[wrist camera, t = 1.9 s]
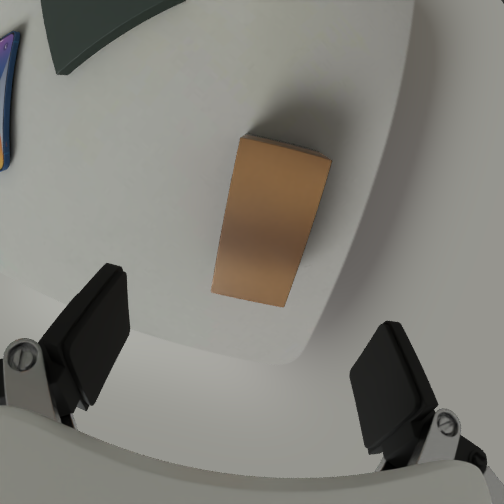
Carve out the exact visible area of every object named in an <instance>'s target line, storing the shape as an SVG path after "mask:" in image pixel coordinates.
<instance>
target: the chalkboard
mask: <svg viewBox="0 0 504 504" xmlns="http://www.w3.org/2000/svg"><path fill="white" fill-rule="evenodd" d="M184 1H186V0H41V6H42V13H43V18H44V24H45V29H46V34H47V39H48V43H49V47H50V52H51V56H52V60H53V63H54V67H55V71H56V74H57V75H68V74H69V73H71V72H72V71H73V70H74V69H75V68H77V67H78V66H79V65H80V64H82V63H83V62H84V61H85V60H87V59H88V58H89V57H91V56H92V55H93V54H95V53H96V52H97V51H99V50H100V49H101V48H103V47H104V46H106V45H107V44H109V43H110V42H112V41H113V40H115V39H116V38H118V37H119V36H121V35H122V34H124V33H125V32H127V31H129V30H130V29H132V28H134V27H135V26H137V25H139V24H140V23H142V22H144V21H146V20H147V19H149V18H151V17H153V16H155V15H157V14H159V13H161V12H163V11H165V10H167V9H169V8H171V7H173V6H175V5H177V4H179V3H181V2H184Z"/></svg>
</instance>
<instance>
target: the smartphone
mask: <svg viewBox="0 0 504 504" xmlns="http://www.w3.org/2000/svg"><path fill="white" fill-rule="evenodd" d="M19 40H20V33H19V32H16V31H12V32H10V33H9V34H7V35H5V36H4V37H2V38H1V39H0V172H1V171H3V170H6V169H7V168H8V167H9V164H10V148H9V119H10V100H11V89H12V80H13V72H14V66H15V60H16V54H17V49H18V44H19Z"/></svg>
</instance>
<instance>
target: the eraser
mask: <svg viewBox="0 0 504 504" xmlns="http://www.w3.org/2000/svg"><path fill="white" fill-rule="evenodd" d="M331 163H332V160H331V159H329V158H328V157H326V156H325V155H323V154H322V153H320V152H319V151H316V150H312V149H308V148H305V147H301V146H297V145H294V144H290V143H286V142H282V141H278V140H273V139H269V138H265V137H260V136H256V135H251V134H245V135H244V136H242V137H241V138H240V142H239V146H238V151H237V156H236V160H235V165H234V170H233V175H232V179H231V184H230V189H229V194H228V199H227V205H226V210H225V215H224V220H223V225H222V231H221V236H220V242H219V247H218V253H217V258H216V264H215V270H214V276H213V281H212V287H211V292H212V293H216V294H220V295H225V296H229V297H234V298H239V299H244V300H248V301H253V302H258V303H263V304H268V305H273V306H278V307H284V306H285V303H286V300H287V298H288V295H289V292H290V289H291V287H292V284H293V281H294V278H295V275H296V273H297V270H298V267H299V264H300V261H301V258H302V255H303V252H304V249H305V246H306V243H307V240H308V237H309V234H310V231H311V228H312V225H313V222H314V219H315V216H316V212H317V209H318V206H319V203H320V200H321V196H322V193H323V190H324V187H325V183H326V180H327V177H328V173H329V170H330V166H331Z"/></svg>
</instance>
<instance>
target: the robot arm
mask: <svg viewBox="0 0 504 504" xmlns="http://www.w3.org/2000/svg"><path fill="white" fill-rule="evenodd" d="M129 332H130V321H129V309H128V294H127V275H126V272H123V269H122V267H120V266H117V265H113V264H109V263H106V264H105V265H104V266H103V267H102V268H101V269H100V270H99V271H98V272H97V273H96V274H95V276H94V277H93V278H92V279H91V280H90V281H89V282H88V283H87V284H86V286H85V287H84V288H83V289H82V290H81V291H80V293H78V294H77V295H76V296H75V297H74V298H73V299H72V300H71V302H70V303H69V304H68V305H67V307H66V308H65V309H64V310H63V311H62V313H61V314H60V315H59V316H58V317H57V319H56V320H55V321H54V323H53V324H52V325H51V326H50V328H49V329H48V330H47V332H46V333H45V334H44V335H43V337H42V338H41V339H40V341H39V342H38V343H37V342H35V341H34V340H32V339H27V338H22V339H18V340H15V341H14V342H12V343H10V345H9V346H8V347H7V348H6V350H5V352H4V356H3V359H0V504H504V485H503V484H502V482H501V481H500V480H499V479H498V477H497V476H496V475H495V474H494V472H493V471H492V470H491V469H490V467H489V466H488V467H487V458H486V454H485V453H484V452H483V450H481V449H480V448H479V447H478V446H476V445H474V444H473V443H472V442H470V441H469V440H467V439H466V438H464V437H463V436H461V435H460V433H461V424H460V421H459V419H458V417H457V416H456V415H455V414H454V413H453V412H452V411H451V410H448V409H439V410H438V411H437V412H435V411H434V409H435V408H436V407H437V406H438V402H437V400H436V398H435V395H434V393H433V390H432V388H431V386H430V384H429V381H428V379H427V377H426V375H425V373H424V370H423V368H422V366H421V364H420V361H419V359H418V357H417V355H416V353H415V351H414V349H413V347H412V345H411V343H410V341H409V339H408V337H407V335H406V333H405V331H404V329H403V327H402V325H401V324H400V323H399V322H393V321H385V322H384V323H383V324H381V325H380V326H379V327H378V329H377V330H376V332H375V334H374V335H373V337H372V338H371V340H370V342H369V343H368V345H367V346H366V348H365V349H364V351H363V352H362V354H361V355H360V357H359V358H358V360H357V361H356V363H355V364H354V366H353V367H352V368H351V370H350V381H351V385H352V389H353V394H354V397H355V402H356V407H357V411H358V416H359V421H360V426H361V431H362V436H363V440H364V445H365V447H366V448H368V453H369V455H370V454H378V453H381V452H383V455H384V457H383V458H382V460H381V462H380V464H379V466H378V467H377V469H376V470H375V472H374V473H367V474H359V475H351V476H340V477H325V478H268V477H255V476H243V475H235V474H227V473H220V472H213V471H208V470H202V469H197V468H192V467H187V466H182V465H178V464H174V463H169V462H166V461H162V460H158V459H155V458H151V457H148V456H145V455H141V454H138V453H135V452H132V451H129V450H126V449H123V448H120V447H118V446H115V445H112V444H109V443H107V442H104V441H101V440H99V439H96V438H94V437H91V436H89V435H87V434H84V433H82V432H80V431H78V429H77V426H76V423H75V420H74V417H73V414H72V413H74V411H75V409H76V407H78V408H80V409H83V410H85V411H87V409H88V407H89V405H91V406H92V405H94V403H95V402H96V400H97V398H98V396H99V394H100V391H101V389H102V387H103V385H104V383H105V381H106V379H107V377H108V375H109V373H110V371H111V369H112V367H113V365H114V363H115V361H116V359H117V357H118V355H119V353H120V351H121V349H122V347H123V345H124V343H125V341H126V340H127V338H128V336H129Z"/></svg>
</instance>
